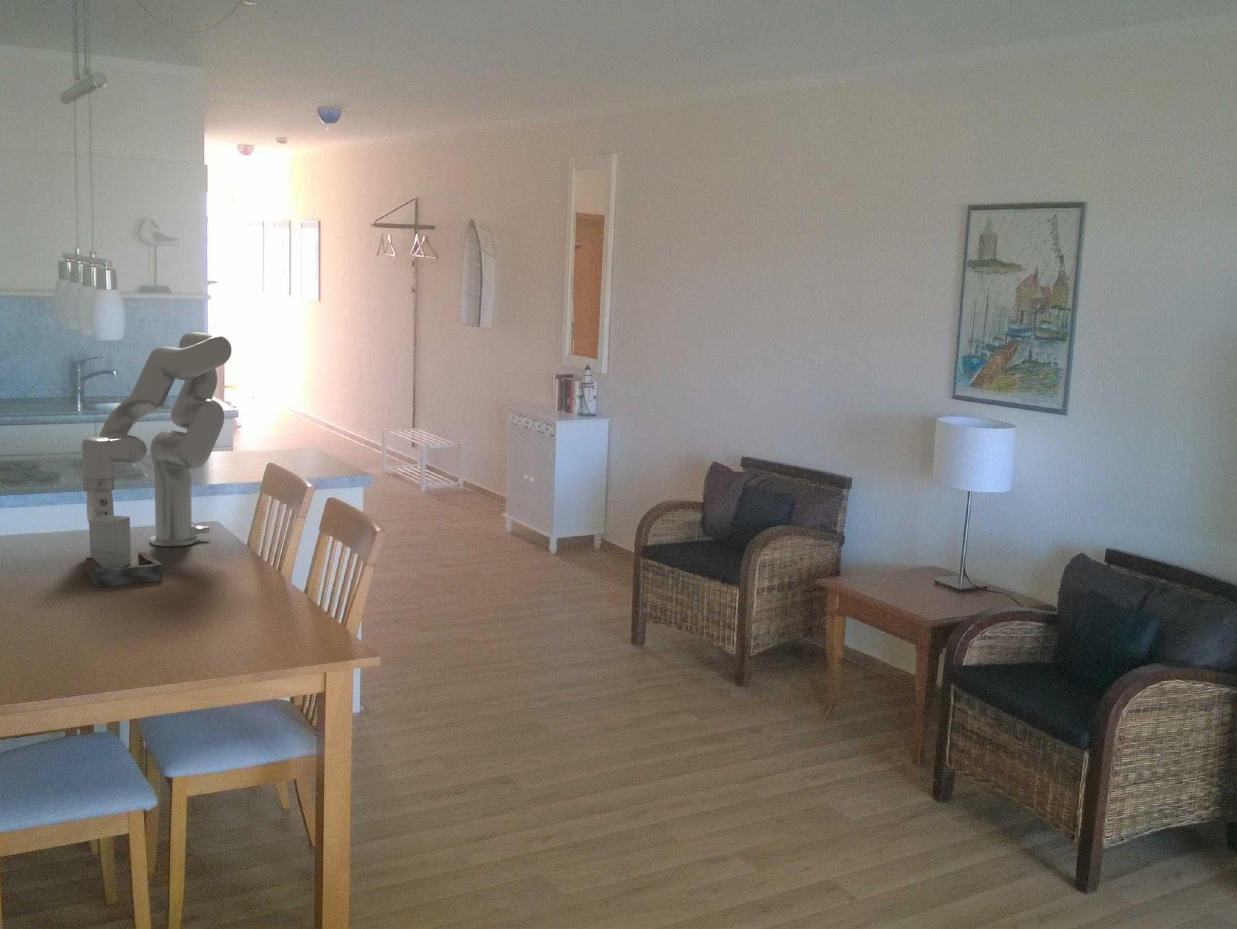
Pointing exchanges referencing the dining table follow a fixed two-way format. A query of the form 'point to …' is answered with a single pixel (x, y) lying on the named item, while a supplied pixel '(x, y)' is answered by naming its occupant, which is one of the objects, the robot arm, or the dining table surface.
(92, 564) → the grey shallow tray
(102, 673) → the dining table surface
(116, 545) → the supplement box
